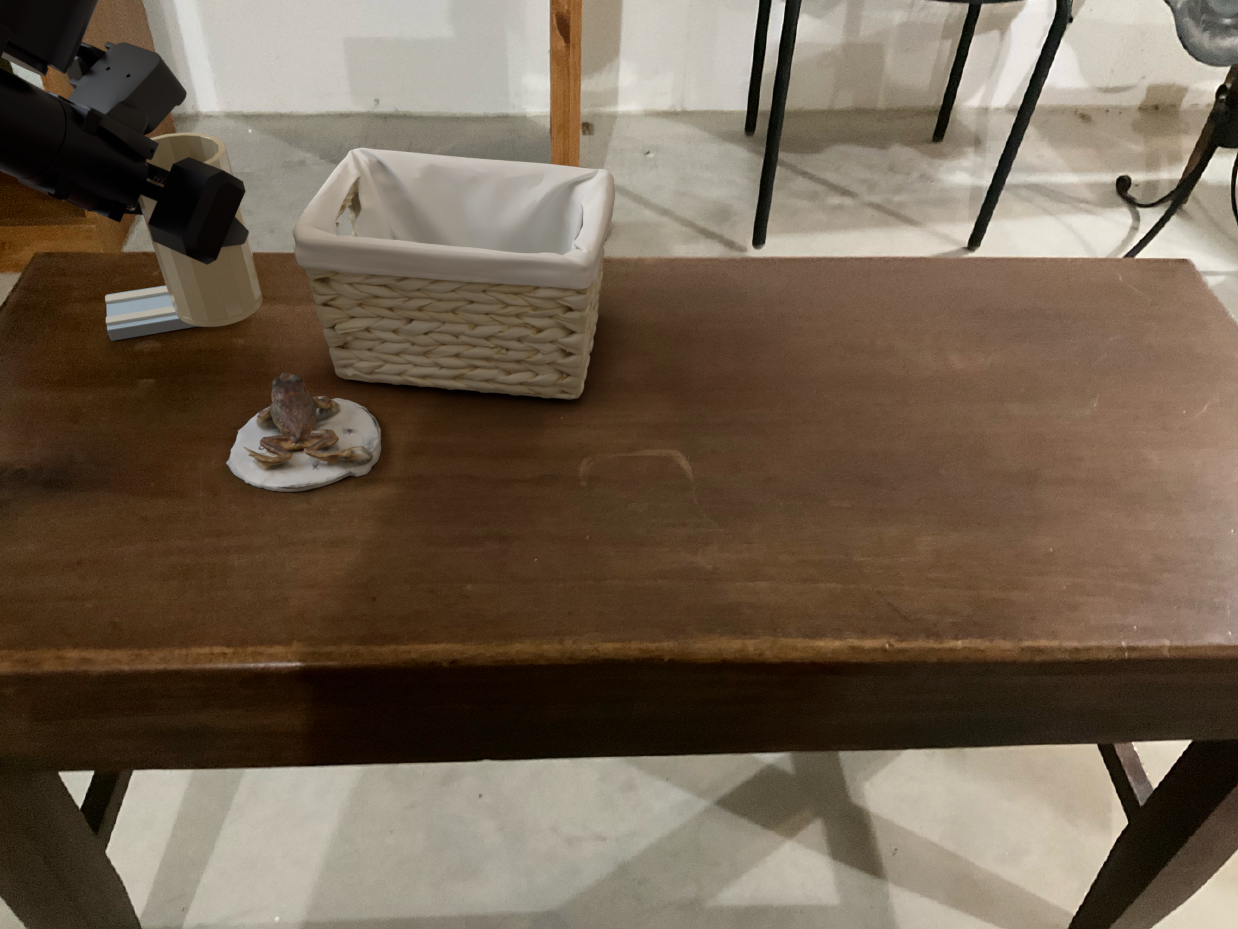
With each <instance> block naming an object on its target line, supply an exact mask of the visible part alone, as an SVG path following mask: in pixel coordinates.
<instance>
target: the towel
mask: <svg viewBox="0 0 1238 929" xmlns="http://www.w3.org/2000/svg"><path fill="white" fill-rule="evenodd" d="M104 302H105V304H106V316H105V325H106V331H107V333H108V336H109V339H110V341H112V342H113V341H119V340H125V339H132V338H137V337H143V336H148V335H155V334H161V333H168V332H172V331H178V330H185V329H190V328H191V329H192V328H197V327H198V326H194V325H191V324H188V323H185V322H184V321H182V320H181V319H180V318H179V317H178V316H177V315H176V312H175V309H174V308H173V305H172V302H171V299H170V296H169V293H168V290H167V287H166V285H160V286H154V287H147V288H140V289H133V290H128V291H127V290H126V291H121V292H115V293H108V294H106V295H105V296H104Z"/></svg>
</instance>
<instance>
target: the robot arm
mask: <svg viewBox="0 0 1238 929" xmlns="http://www.w3.org/2000/svg"><path fill="white" fill-rule="evenodd" d="M99 1H100V0H0V60H1V59H4V60H6V61H8V62H10V63H12V64H13V65H16V66H18V67H20V68H23V69H25V70H27V71H29V72H31V73H33V74H36V75H39V76H41V77H47V75H48V72H49V70H50V68H51V69H53V70H56V71H57V72H60V73H61V74H64V75H66V74H67V77H68V80H69V81H68V84H69V85H70V86H71V87H72V88H73V89H72V93H71V94H70V95H69V97H68V98H65V97H64V96H63V95H60V94H57V93H55V92H52V91H47V90H44V89H43V88H41V87H39V86H37V85H36V84H34V83H31V82H30V81H28V80H27V79H24V78H23V77H20V76H19V75H17V74H16V73H13V72H11V71H9V70H8V69H6V68H4V67H2V66H1V65H0V172H2V173H5V174H7V175H9V176H11V177H14V178H16V179H17V180H18V182H19V183H20V184H23V185H24V186H27V187H29V188H32V189H33V190H37V191H38V192H40V193H42V194H45V195H47V196H50V197H51V198H54V199H57V200H59V201H61V202H62V203H63V202H67V203H69V204H70V205H74V206H75V207H78V208H80V209H82V210H84V211H86V212H91V213H96V214H99V215H100V216H102V217H105V218H108V219H110V220H112V221H114V222H116V223H119V224H120V223H121V221H122V219H123V217H124V215H134V216H143V213H142V210H141V207H140V204H139V197H140V195H142V196H144V197H147V198H149V199H151V200H154V201H156V202H157V203H156V205H155V208H154V210H153V212H152V215H151V217H150V219H149V222H148V227H149V230H150V233H151V236H152V240H153V241H154V242H156V243H158V244H161V245H163V246H165V247H167V248H170V249H172V250H174V251H177V252H179V253H181V254H183V255H186V256H188V257H190V258H193V259H195V260H197V261H199V262H202V263H204V264H206V265H208V264H210V263H212V262H214V261H216V260H217V258H218V255H219V253H220V251H221V248H222V247H227V246H234V245H242V244H244V243H245V242H246V239H247V237H248V238H249V234H250V231H249V230H248V228H247V226H246V225H245V226H246V227H245V226H244V225H243V224H242V223H241V222H240V221H239V220H238V219H237V218H236V217H235V215H236V213H237V211H238V208H239V206H241V203H242V201H243V198H244V196H245V195H246V192H247V191H246V187H245V184H244V181H243V180H241V179H240V178H238V177H236V176H234V175H231V174H229V173H227V172H226V171H224V170H221V169H219V168H216V167H214V166H211V165H209V164H206V163H203V162H201V161H198V160H196V159H193V158H191V157H187V158H185V159H183V160H180V161H178V162H176V163H173V165H172V167H171V170H170V171H168V170H166V169H163V168H161V167H158V166H156V165H153V164H151V163H148V162H146V160H147V159H148V160H152V159H153V157H154V154H155V152H156V149H157V147H158V145H159V143H157V142H155V141H154V140H152V139H150V138H151V137H149V136H147V135H150V134H151V133H153V132H154V131H155V130H156V129H157V128H158V127H159V126H160V124H161V123H162V122H163V121H164V120H165V119H166V118H167V117H168V116H169V114H170V113H171V112H172V111H173V110H174V109H175V107H180V106H181V105H182V104H183V102H184V101H185V100H186V98H187V94H188V93H187V90H186V89H185V87H184V86H183V84H182V83H181V82H180V80H179V79H178V78H177V76H176V75H175V74H174V72H173V71H172V70H171V68H170V67H169V66H168V65H167V63H166V62H165V60H164V59H163V57H162V56H161V55H160V54H159V53H158V52H155V51H154V50H153V51H152V50H150V49H147V48H144V47H142V46H137V45H135V44H133V43H129V42H124V41H123V42H117V43H113V42H111V41H106V42H105V43H104V44H103V46H104V48H105V49H106V51H105V50H103V49H101V48H99V47H97V46H95V45H92V44H90V43H88V42H84V41H83V40H84V38H85V36H86V33H87V30H88V28H89V26H90V24H91V21H92V19H93V17H94V13H95V11H96V10H97V6H98V4H99ZM49 67H50V68H49ZM147 178H148V179H151V180H154V181H155V182H158V183H160V184H163V185H164V186H163V187H161V186H158V185H156V184H153V183H151V182H149V181H147Z"/></svg>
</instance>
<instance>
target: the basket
mask: <svg viewBox="0 0 1238 929" xmlns="http://www.w3.org/2000/svg"><path fill="white" fill-rule="evenodd" d="M615 199H616V190H615V178H614V175H613V174H612V173H611V172H610V171H609V170H607V169H605V168H588V167H580V166H572V165H564V164H563V165H562V164H551V163H543V162H531V161H530V162H529V161H516V160H501V159H489V158H477V157H476V158H475V157H466V156H465V157H464V156H463V157H462V156H455V155H454V156H453V155H442V154H431V153H424V152H423V153H422V152H411V151H401V150H390V149H378V148H377V149H376V148H369V147H358V148H353V149H350V150H349V151H348V153H347V155H346V156H345V157H344V158H343V159H342V160H341V161H340V162H339V163H338V164H337V166H336V167H335V168H334V170H333V171H332V172H331V173H330V175H329V176H328V178H327V179H326V180H325V182H324V183H323V185H322V186H321V187H320V188H319V190H318V191H317V193H316V194H315V195H314V197H313V198H312V199H311V201H310V202H309V203H308V205H307V206H306V207H305V209H304V210H303V211H302V213H301V215H300V216H299V217H298V219H297V221H296V222H295V224H294V226H293V228H292V236H293V239H294V256H295V260H296V263H297V264H298V265H299V266H300V267H302V268H303V269H304V271H305V272H306V276H307V278H308V284H309V288H310V290H311V292H312V295H311V296H312V299H313V302H314V304H315V313H316V314H315V315H316V318H317V320H318V322H320V324H321V327H322V335H323V339H324V341H325V342H326V343H327V345H328V347H329V348H328V352H329V356H330V359H331V362H332V365H333V367H334V372H335V375H336V376H337V377H339V378H341V379H344V380H352V381H358V382H359V381H360V382H365V383H371V384H373V383H380V384H381V383H383V384H384V383H385V384H391V385H395V386H400V385H407V386H416V387H419V388H425V387H427V388H440V389H446V390H449V391H451V390H452V391H453V390H461V391H462V390H463V391H474V392H480V393H485V394H488V393H491V394H492V393H493V394H494V393H496V394H508V395H510V396H517V397H518V396H528V397H539V398H543V399H560V400H561V399H562V400H569V401H571V400H576V399H577V400H578V399H579V398H580V397H581V395H582V394H583V392H584V389H585V381H586V379H587V375H588V367H589V365H590V361H591V355H590V354H591V353H592V351H593V348H594V343H595V342H594V337H595V334H596V331H597V323H598V319H599V307H600V301H599V300H600V295H601V294H600V292H601V290H602V281H603V277H604V270H603V268H604V261H605V254H606V253H605V245H606V242H607V240H608V235H609V232H610V226H611V223H612V220H613V215H614V207H615ZM346 209H348V210H349V221H350V224H351V228H352V232H351V234H350V235H338V232H337V231H338V230H337V228H338V227H339V225H340V223H339V222H338V219H339V218H340V216H342V215H343V214H344V212H345V211H346Z"/></svg>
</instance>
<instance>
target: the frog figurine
mask: <svg viewBox="0 0 1238 929" xmlns="http://www.w3.org/2000/svg"><path fill="white" fill-rule="evenodd" d="M271 388H272V389H271V402H272V403H271V404H270V406H267V407H266V408H264V409H260V410H259V411H258V412H257V413H256V414H255V415H253V417H251V418H250V419H249V420H248V421H247V423H245V424H244V425H243V426H242V427H241V428H240V429H238V430H237V432H238V433H237V435H236V439H235V442H234V443H233V446H232V448H230V454H229V458H228V460H227V461H226V462H225V464H226V466H228V468H229V469H230V471H231V473H232V474H233V475H234V476H236V477H237V478H239V479H240V480H242V481H244V483H246V484H249V485H251V486H252V487H256V488H258V489H265V490H269V491H273V492H280V493H282V492H283V493H284V492H286V493H291V492H292V493H293V492H304V491H308V490H312V489H318V488H321V487H324V486H328V485H330V484H333V483H336V482H338V481H342V480H343V479H344V478H347V477H349V476H351V477H355V478H356V477H362V476H367V475H368V473H370V472H371V471H372V469H373V468H372V467H373V466H375V465H376V463H377V462H378V461H379V459H380V456H381V452H382V429H381V427H380V424H379V422H378V420H377V419H376V417H375V416H374V415H373V414H372V413H370V412H369V410H368V409H367V408H366V407H365V406H363V405H360V404H359V403H357V402H354V401H352V400H349V399H343V398H340V397H335V398H332V399H331V398H329V397H327V396H325V395H323V396H317V397H316V396H311V395H310V392H309V390H308V387H307V385H306V384H305V382H304V381H303V377H302V376H301V375H299V373H292V374H291V373H290V372H282V373H281V374H280V376H274V378H273V381H272V382H271Z"/></svg>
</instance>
